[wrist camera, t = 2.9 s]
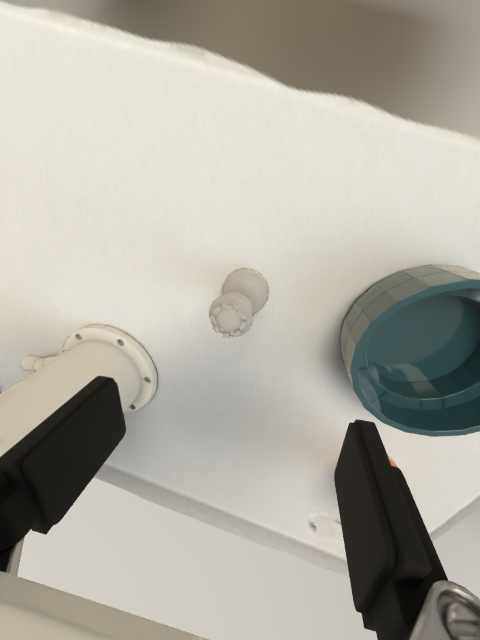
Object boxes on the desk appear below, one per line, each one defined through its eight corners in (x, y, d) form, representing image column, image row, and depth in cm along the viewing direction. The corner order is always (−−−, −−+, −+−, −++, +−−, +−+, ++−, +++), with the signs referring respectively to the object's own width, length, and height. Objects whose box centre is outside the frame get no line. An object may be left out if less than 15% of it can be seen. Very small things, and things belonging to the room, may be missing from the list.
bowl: (328, 382, 27) (336, 421, 22) (355, 258, 21) (374, 272, 16) (466, 402, 25) (510, 449, 20) (534, 269, 19) (617, 289, 14)
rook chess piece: (260, 317, 25) (247, 358, 18) (219, 301, 25) (190, 336, 18) (276, 276, 23) (269, 304, 16) (232, 260, 24) (205, 281, 16)
